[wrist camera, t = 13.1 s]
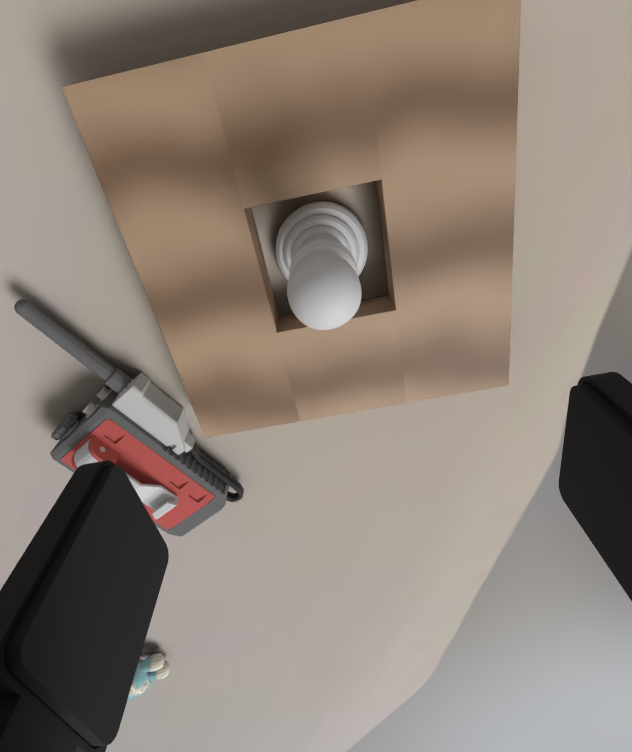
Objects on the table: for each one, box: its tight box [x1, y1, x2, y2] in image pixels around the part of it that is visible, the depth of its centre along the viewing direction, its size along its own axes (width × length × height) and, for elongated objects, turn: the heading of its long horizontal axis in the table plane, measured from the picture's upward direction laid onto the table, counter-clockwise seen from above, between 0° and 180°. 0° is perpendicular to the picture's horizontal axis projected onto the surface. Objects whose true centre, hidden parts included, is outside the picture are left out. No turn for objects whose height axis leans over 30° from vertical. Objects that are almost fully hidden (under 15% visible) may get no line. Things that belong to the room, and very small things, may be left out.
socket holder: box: [62, 0, 521, 437], centre depth 25 cm, size 20×20×2 cm
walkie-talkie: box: [14, 299, 244, 536], centre depth 30 cm, size 9×4×20 cm
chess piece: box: [275, 201, 368, 330], centre depth 22 cm, size 5×5×9 cm
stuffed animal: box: [127, 653, 170, 700], centre depth 45 cm, size 11×7×12 cm
